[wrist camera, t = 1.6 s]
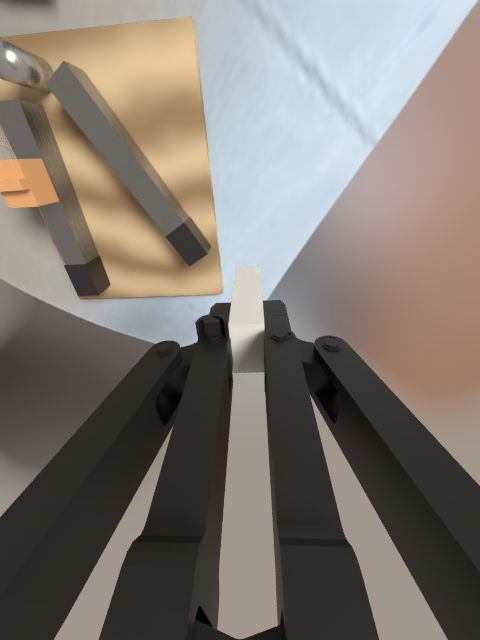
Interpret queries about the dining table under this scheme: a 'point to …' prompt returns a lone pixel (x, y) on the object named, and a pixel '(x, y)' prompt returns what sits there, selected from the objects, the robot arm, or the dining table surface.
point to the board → (151, 137)
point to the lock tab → (26, 183)
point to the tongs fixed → (49, 169)
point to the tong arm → (126, 159)
